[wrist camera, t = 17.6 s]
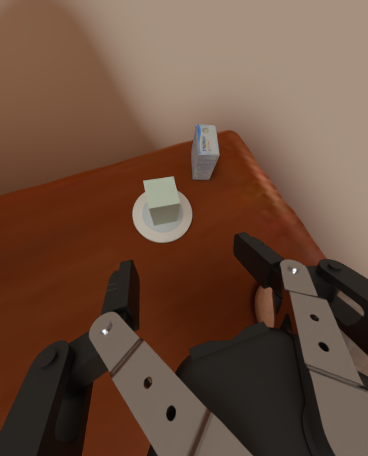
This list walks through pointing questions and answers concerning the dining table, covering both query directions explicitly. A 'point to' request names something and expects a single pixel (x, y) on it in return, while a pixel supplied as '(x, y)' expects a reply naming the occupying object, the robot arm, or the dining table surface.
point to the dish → (163, 231)
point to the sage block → (162, 200)
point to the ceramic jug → (360, 359)
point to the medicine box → (204, 152)
